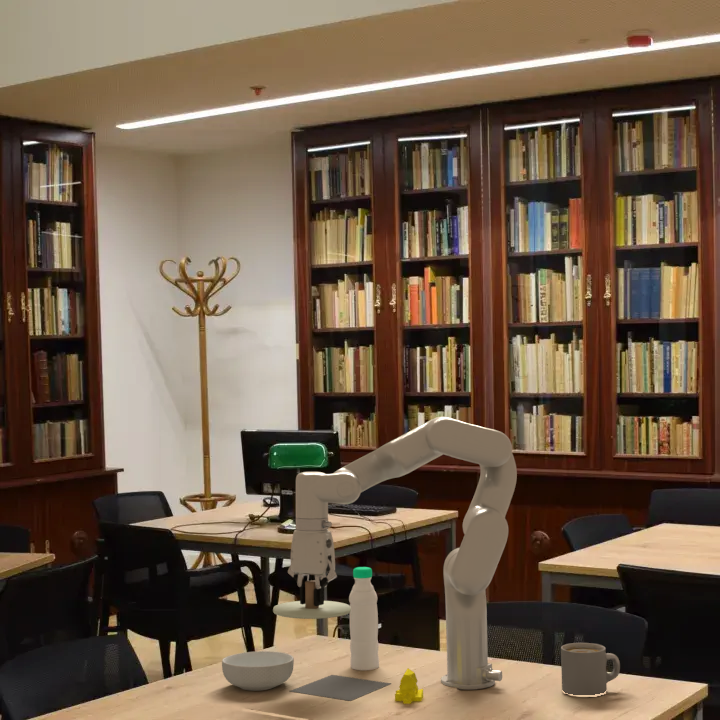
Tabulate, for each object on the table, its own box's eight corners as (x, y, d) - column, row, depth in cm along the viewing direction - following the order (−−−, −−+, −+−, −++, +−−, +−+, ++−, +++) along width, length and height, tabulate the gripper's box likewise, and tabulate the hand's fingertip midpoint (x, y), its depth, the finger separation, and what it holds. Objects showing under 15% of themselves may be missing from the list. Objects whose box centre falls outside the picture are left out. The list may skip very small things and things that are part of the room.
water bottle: (376, 672, 288) (373, 570, 288) (347, 672, 289) (345, 570, 290) (381, 665, 295) (379, 565, 295) (353, 665, 296) (351, 565, 297)
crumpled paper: (424, 697, 266) (423, 662, 266) (420, 707, 258) (419, 671, 258) (398, 696, 267) (397, 662, 267) (393, 706, 259) (392, 671, 259)
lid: (365, 608, 277) (365, 579, 277) (321, 621, 262) (321, 591, 262) (303, 601, 287) (303, 573, 287) (257, 613, 272) (257, 583, 272)
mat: (391, 686, 275) (391, 683, 275) (350, 703, 261) (350, 700, 261) (332, 677, 285) (332, 674, 285) (289, 693, 271) (289, 691, 271)
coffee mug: (565, 698, 261) (564, 653, 262) (559, 686, 271) (557, 643, 272) (626, 697, 261) (625, 652, 261) (617, 685, 271) (616, 642, 271)
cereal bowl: (309, 686, 277) (308, 656, 277) (256, 702, 265) (255, 670, 265) (260, 675, 288) (259, 646, 289) (207, 689, 276) (207, 659, 276)
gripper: (350, 525, 273) (350, 605, 273) (293, 521, 282) (293, 598, 282) (331, 529, 267) (331, 610, 267) (274, 524, 276) (274, 603, 276)
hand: (312, 603), depth 274 cm, fingers closed on lid, 3 cm apart
